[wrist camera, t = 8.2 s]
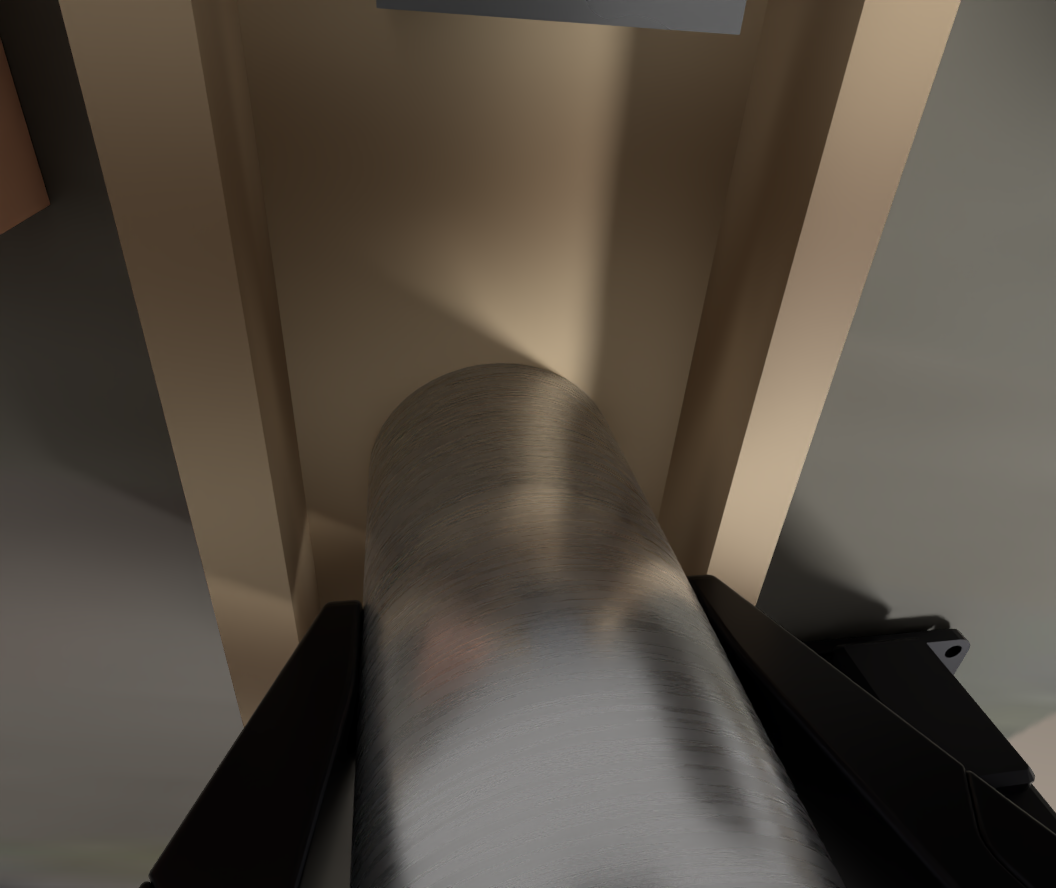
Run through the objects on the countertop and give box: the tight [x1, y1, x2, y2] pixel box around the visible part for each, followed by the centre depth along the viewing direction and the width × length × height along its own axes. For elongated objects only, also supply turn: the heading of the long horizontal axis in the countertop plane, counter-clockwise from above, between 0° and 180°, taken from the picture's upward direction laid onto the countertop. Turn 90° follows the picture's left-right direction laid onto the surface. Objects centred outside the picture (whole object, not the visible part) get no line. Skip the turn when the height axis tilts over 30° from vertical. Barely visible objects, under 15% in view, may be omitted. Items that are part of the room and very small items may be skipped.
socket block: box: [59, 0, 961, 727], centre depth 9 cm, size 16×8×4 cm, turn 176°
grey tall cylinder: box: [350, 363, 846, 888], centre depth 7 cm, size 4×4×9 cm
